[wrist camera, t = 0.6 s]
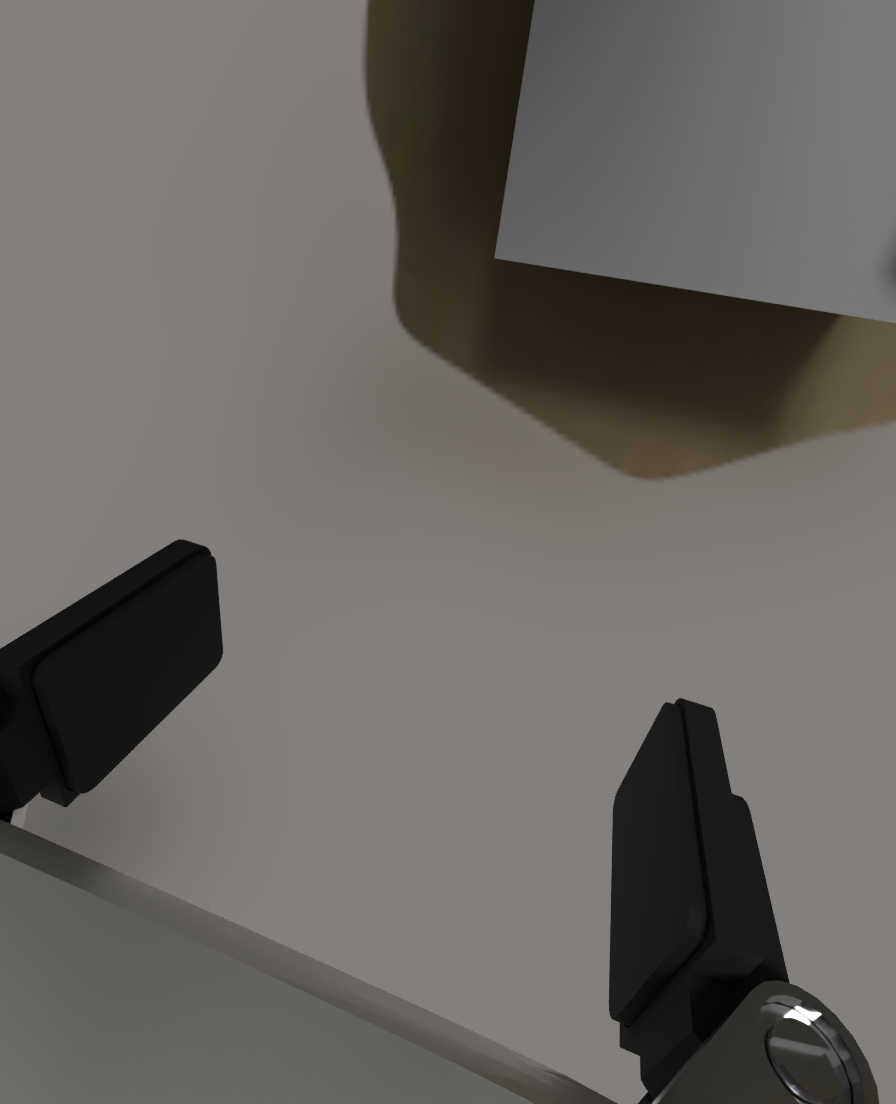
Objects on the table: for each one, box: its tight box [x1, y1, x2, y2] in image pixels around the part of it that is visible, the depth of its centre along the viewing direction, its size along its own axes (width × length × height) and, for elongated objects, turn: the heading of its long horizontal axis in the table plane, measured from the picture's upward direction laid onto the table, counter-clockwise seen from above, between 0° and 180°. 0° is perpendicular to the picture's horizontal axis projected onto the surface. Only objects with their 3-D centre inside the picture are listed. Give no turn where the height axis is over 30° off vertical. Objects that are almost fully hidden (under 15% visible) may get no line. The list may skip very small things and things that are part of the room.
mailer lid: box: [494, 0, 896, 323], centre depth 20 cm, size 16×18×4 cm
